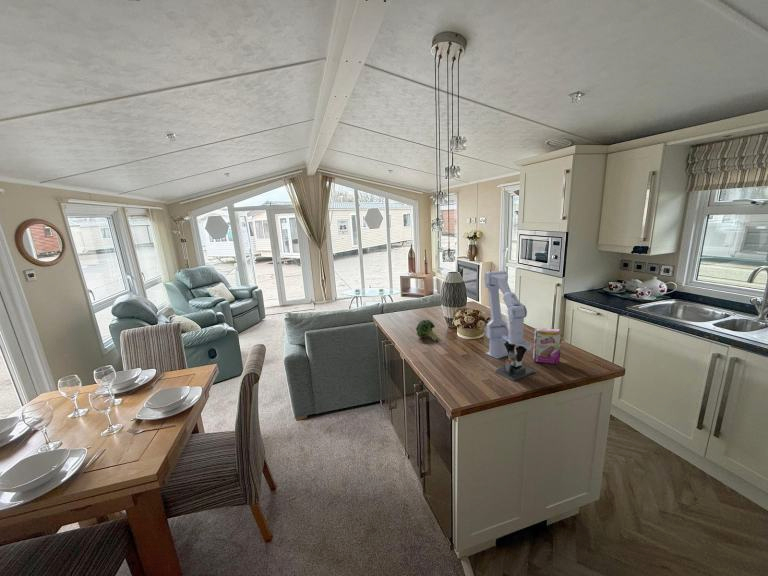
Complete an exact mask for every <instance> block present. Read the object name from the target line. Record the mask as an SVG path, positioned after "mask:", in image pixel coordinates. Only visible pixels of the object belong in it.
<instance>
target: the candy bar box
mask: <svg viewBox="0 0 768 576" xmlns="http://www.w3.org/2000/svg"><path fill="white" fill-rule="evenodd" d="M562 335H563V334H562V331H561V329H557V328H545V327H544V328H543V327H535V328H534V340H533V351H532V352H533V353H532V359H533V362H534V363H541V364H542V363H543V364H553V365H560V356H561V347H562V346H561V345H562Z"/></svg>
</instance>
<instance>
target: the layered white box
mask: <svg viewBox="0 0 768 576" xmlns="http://www.w3.org/2000/svg"><path fill="white" fill-rule="evenodd" d="M508 354H509V355H507V356H508V358H507V359H508V360H511V361H512V362H511V365H512V366H515V367H517V366H520V365H523V360H522V361H520V362H518V361H517V351H516V349H514V350H512V351H509V353H508Z"/></svg>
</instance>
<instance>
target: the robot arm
mask: <svg viewBox="0 0 768 576" xmlns="http://www.w3.org/2000/svg"><path fill="white" fill-rule="evenodd" d="M508 279H509V275H508V273H507V271H506V270H503V269H502V270H493V271H486V272H485V274H484V285H485V288H486V289H488V298H489V300H488V301H489V307H490V308H489V309H490V310H489V311H490V320H489V322H487V323H485V324H486V327H485V335H486V337H487V339H489V349H488V350H489V351H487V352H485V355H488V356H490V357H493V358H495V359H501V358H503V357H506V356H508V355H509V354H508V353H509V351H512V350H516V351H517V361H518V362H520V361H522V362H523V357H524V355H525V353H526V352H527V351H530V350H532V346H533V345H532V344H530V343H528V342H527V341H525V340H524V324H525V322H524V321H525V318H526V317H527V315H528V311H527V308H526V305H524V304H523V303H521V302H520V300H519V299H518V296H517V295H516V293H514V292H512V291H511V289H510V285H509V283H508ZM499 290H500V291H499ZM500 292H501V293H502V295H503V297H502V299H503V302H504V304H505V306H506V308H507V316H508V322H509V329H508V324H507V323H506V322H505V321H504V320H502V312H501V311H502V310H501V301H500ZM515 346H517V347H515Z"/></svg>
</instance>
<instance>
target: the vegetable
mask: <svg viewBox="0 0 768 576" xmlns="http://www.w3.org/2000/svg"><path fill="white" fill-rule="evenodd" d="M434 328H435V324H434V323H433V322H432V320H430V319H422V320H421V321H419V322H418V324H417V326H416V327H415V330H416V332H417V333H416V335H417V337H419V338H424V337H425V338H429V337H430V338H431V339H432V340H433V341H434V342H435V341H437V339H438V338H439V335H438V334H437V333H436V332H434V331H433V329H434Z"/></svg>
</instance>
